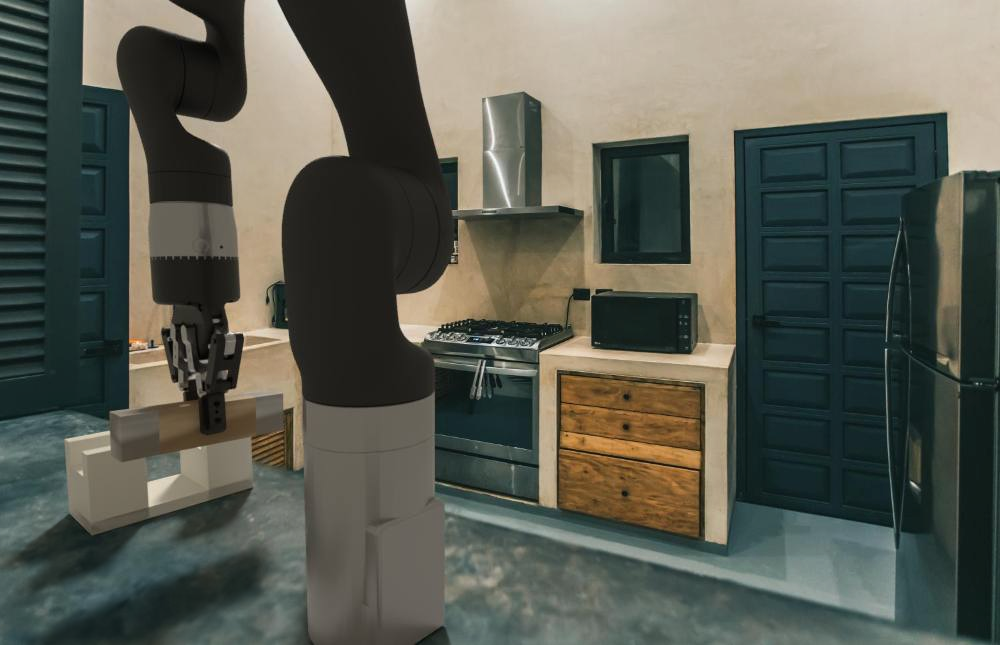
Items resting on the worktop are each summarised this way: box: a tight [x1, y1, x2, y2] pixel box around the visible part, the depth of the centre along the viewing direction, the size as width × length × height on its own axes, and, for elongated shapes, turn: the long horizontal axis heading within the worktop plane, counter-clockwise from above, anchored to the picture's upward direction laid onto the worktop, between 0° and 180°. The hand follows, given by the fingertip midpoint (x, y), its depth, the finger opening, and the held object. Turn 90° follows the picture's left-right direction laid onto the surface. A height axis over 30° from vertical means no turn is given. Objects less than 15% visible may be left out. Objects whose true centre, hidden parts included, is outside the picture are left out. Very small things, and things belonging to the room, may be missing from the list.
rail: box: [109, 389, 285, 462], centre depth 56 cm, size 3×15×4 cm, turn 140°
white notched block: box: [63, 430, 254, 536], centre depth 63 cm, size 8×16×8 cm, turn 140°
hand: (205, 429), depth 56 cm, fingers closed on rail, 3 cm apart
